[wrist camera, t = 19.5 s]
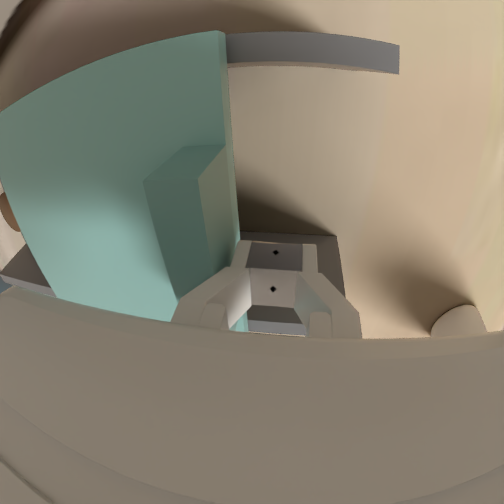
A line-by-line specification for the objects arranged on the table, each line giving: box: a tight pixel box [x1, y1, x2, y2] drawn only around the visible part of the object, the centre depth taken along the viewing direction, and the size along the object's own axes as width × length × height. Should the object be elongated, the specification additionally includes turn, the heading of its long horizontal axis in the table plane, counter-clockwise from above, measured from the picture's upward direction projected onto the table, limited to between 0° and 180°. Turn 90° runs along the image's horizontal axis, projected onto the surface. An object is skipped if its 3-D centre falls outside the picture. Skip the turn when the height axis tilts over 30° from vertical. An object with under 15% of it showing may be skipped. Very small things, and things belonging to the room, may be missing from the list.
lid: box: [0, 30, 249, 332], centre depth 12 cm, size 16×15×4 cm
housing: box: [0, 31, 399, 335], centre depth 18 cm, size 16×35×10 cm, turn 92°
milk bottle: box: [431, 305, 487, 337], centre depth 20 cm, size 8×8×20 cm
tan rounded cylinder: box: [0, 192, 21, 232], centre depth 19 cm, size 4×4×7 cm
